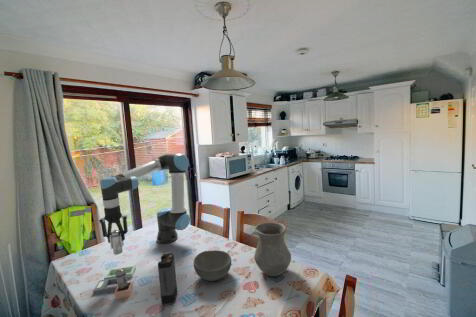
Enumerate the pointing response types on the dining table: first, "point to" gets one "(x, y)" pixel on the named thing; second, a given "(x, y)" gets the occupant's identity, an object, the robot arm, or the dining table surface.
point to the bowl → (212, 264)
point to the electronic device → (167, 279)
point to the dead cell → (122, 279)
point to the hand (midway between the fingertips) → (117, 246)
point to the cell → (116, 242)
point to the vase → (272, 249)
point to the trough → (111, 272)
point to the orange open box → (124, 292)
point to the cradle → (105, 286)
